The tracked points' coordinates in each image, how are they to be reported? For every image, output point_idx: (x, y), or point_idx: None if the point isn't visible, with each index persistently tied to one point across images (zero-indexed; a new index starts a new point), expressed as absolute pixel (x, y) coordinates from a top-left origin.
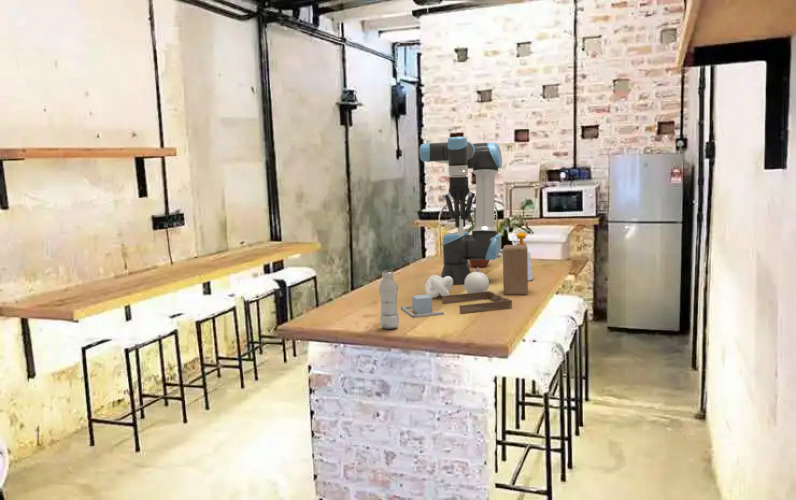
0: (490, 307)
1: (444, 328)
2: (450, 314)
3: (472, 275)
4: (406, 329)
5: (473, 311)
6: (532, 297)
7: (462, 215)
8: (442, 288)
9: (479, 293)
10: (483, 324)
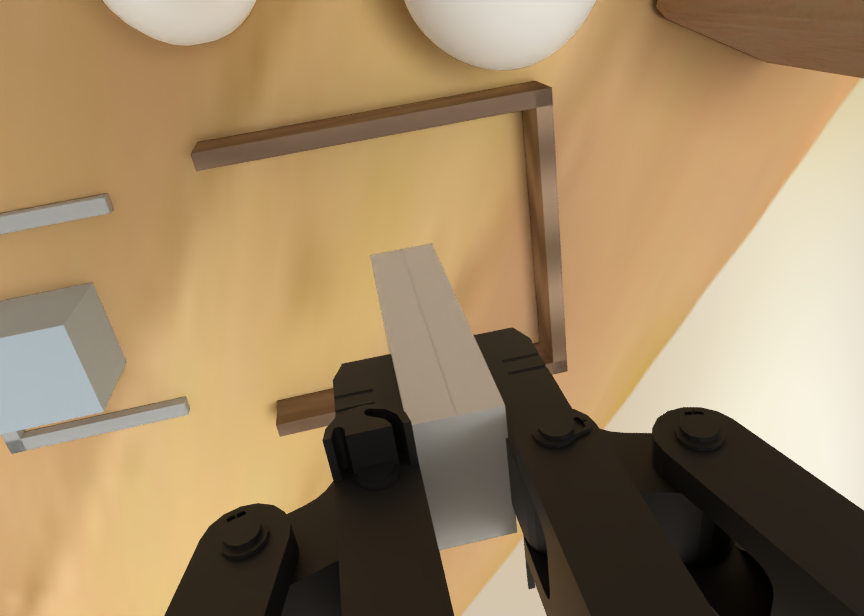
0: None
1: None
2: (226, 412)
3: (475, 14)
4: (4, 613)
5: None
6: (759, 134)
7: (543, 592)
8: (195, 43)
9: (466, 120)
10: None
